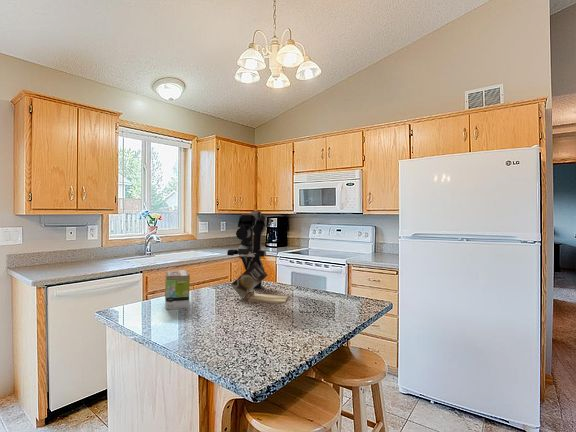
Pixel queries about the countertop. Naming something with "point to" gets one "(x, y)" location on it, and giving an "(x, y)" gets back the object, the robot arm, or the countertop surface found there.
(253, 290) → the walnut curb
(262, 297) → the maple board
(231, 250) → the robot arm
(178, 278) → the tea box
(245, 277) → the coffee box
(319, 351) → the countertop surface
